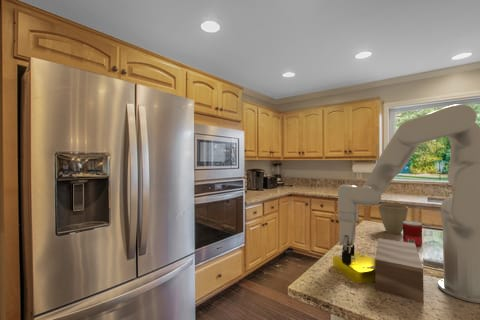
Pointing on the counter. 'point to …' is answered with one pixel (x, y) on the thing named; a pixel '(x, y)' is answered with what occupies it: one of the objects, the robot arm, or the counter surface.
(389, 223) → the plant pot
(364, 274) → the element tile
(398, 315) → the counter surface
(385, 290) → the brown wooden block
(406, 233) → the canned food
